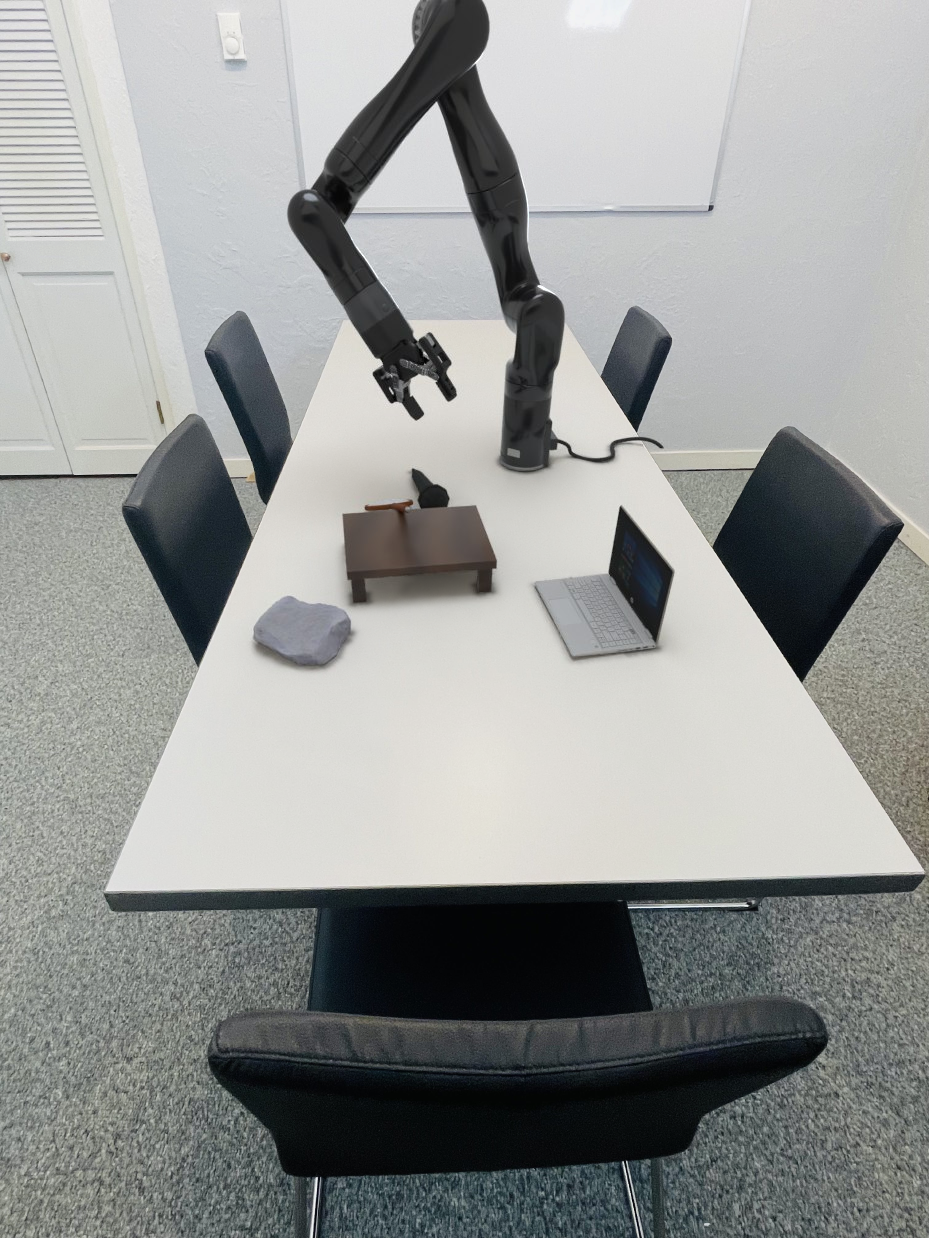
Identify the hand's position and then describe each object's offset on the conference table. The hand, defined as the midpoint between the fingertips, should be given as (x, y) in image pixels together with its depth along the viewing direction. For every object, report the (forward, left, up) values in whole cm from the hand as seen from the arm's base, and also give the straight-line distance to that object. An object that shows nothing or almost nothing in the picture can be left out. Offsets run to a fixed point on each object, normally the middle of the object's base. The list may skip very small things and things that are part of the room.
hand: (436, 408), depth 117 cm
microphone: (+1, -5, -19) cm, 20 cm away
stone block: (+24, +35, -19) cm, 46 cm away
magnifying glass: (+6, +16, -10) cm, 20 cm away
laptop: (-18, +35, -19) cm, 43 cm away
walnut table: (+6, +19, -19) cm, 27 cm away
